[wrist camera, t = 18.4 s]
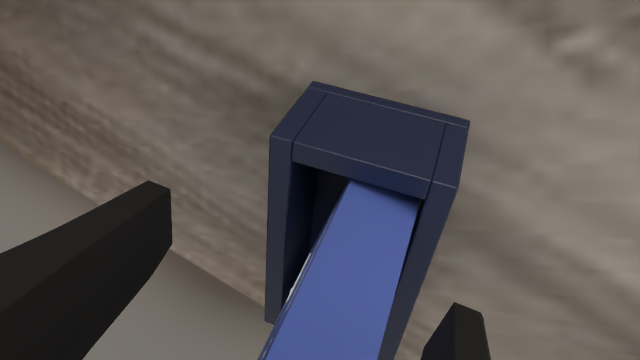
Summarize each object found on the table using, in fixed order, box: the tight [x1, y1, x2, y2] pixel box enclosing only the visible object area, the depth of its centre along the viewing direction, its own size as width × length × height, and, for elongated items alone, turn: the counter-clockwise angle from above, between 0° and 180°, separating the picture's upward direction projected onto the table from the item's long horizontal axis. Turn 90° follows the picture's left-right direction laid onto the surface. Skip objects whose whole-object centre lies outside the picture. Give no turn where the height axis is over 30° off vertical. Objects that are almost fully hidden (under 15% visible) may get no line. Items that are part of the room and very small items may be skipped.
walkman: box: [257, 178, 421, 360], centre depth 18 cm, size 8×3×12 cm, turn 160°
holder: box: [265, 81, 470, 360], centre depth 21 cm, size 7×12×5 cm, turn 175°
